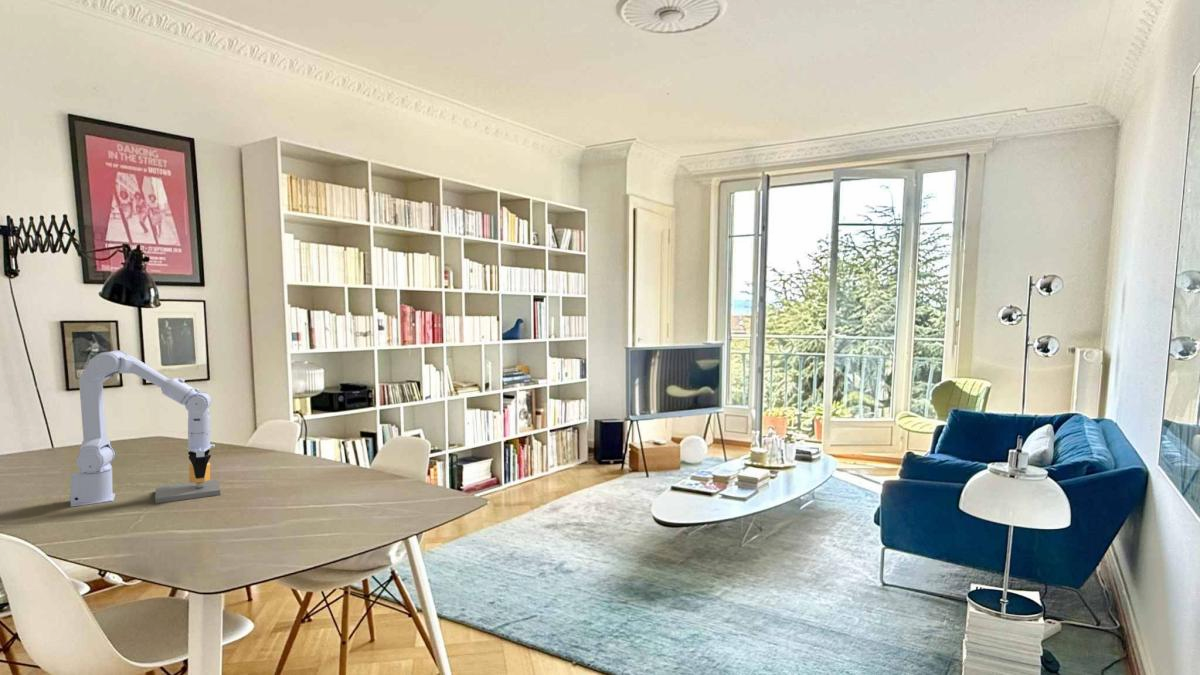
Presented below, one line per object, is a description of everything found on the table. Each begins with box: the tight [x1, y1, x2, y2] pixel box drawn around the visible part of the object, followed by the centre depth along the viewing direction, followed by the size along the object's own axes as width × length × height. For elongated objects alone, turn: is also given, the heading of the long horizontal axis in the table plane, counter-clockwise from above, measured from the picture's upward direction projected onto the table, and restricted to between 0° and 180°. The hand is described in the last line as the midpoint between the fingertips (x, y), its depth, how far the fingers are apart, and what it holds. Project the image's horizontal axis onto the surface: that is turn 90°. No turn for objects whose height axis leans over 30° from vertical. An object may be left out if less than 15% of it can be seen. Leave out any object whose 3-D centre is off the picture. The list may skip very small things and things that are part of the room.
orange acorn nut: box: [188, 461, 212, 483], centre depth 187 cm, size 5×5×5 cm
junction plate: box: [154, 478, 221, 504], centre depth 186 cm, size 16×14×4 cm
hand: (199, 475), depth 187 cm, fingers closed on orange acorn nut, 5 cm apart
